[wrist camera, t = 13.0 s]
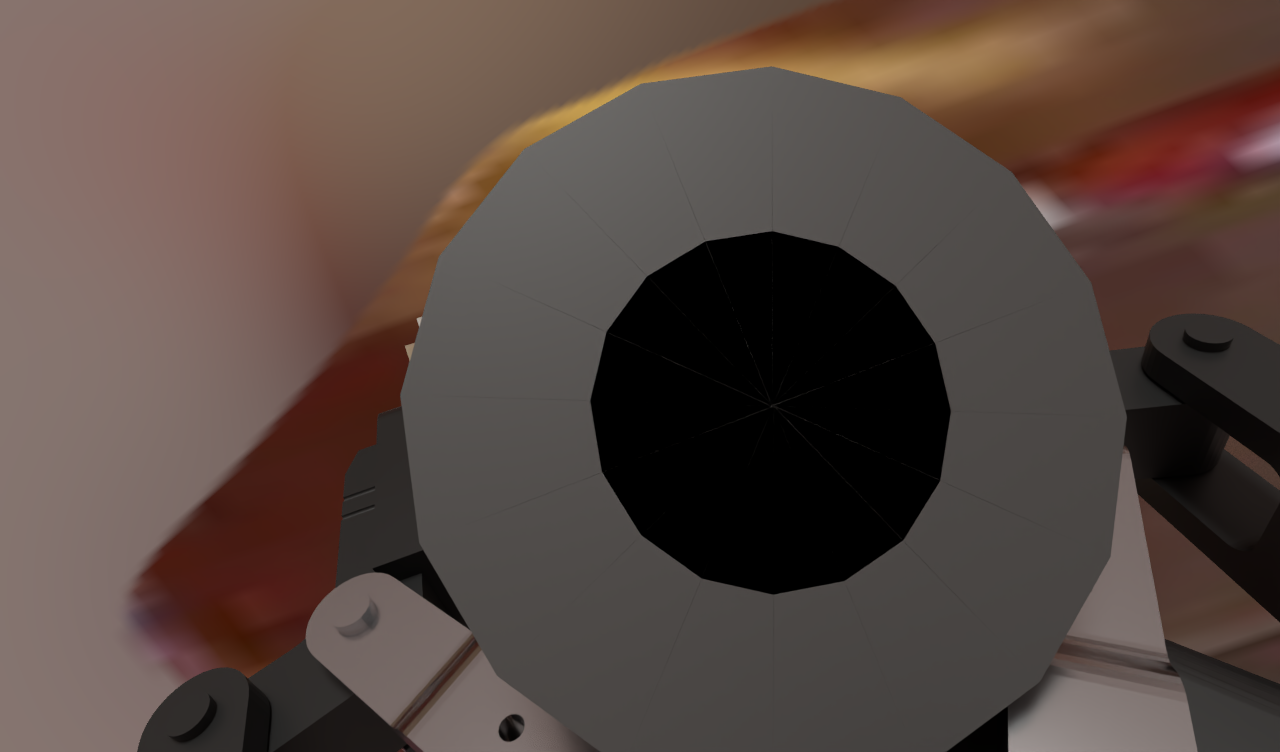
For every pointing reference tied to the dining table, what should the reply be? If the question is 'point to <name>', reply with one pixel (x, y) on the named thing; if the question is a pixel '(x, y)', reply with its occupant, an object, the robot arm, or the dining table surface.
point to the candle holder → (763, 424)
